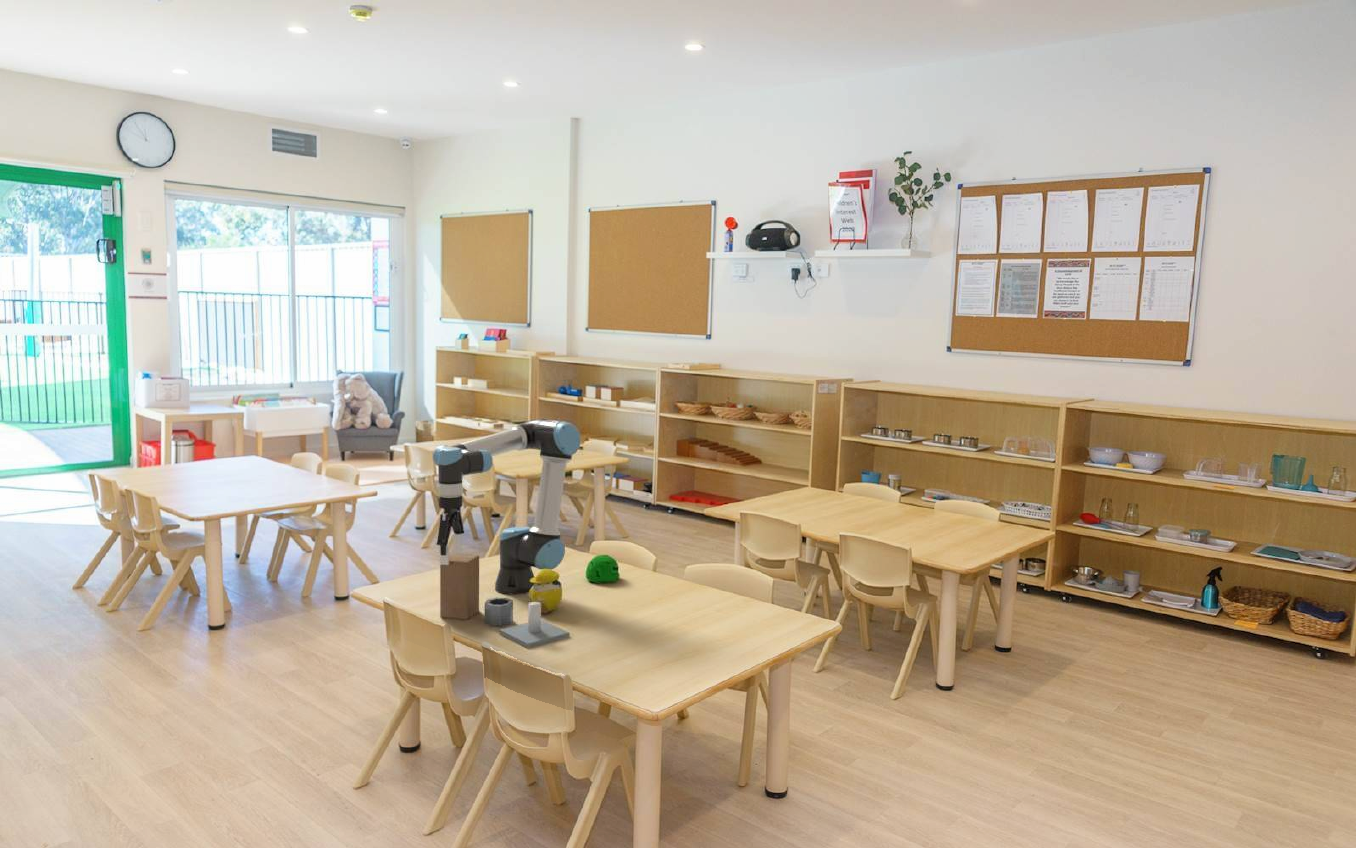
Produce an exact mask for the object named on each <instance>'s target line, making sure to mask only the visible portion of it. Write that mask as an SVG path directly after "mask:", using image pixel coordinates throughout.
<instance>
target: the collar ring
mask: <svg viewBox="0 0 1356 848" xmlns="http://www.w3.org/2000/svg"><path fill="white" fill-rule="evenodd" d="M483 617H484V619H483V620H484V625H487V626H489V627H500V628H501V627H505V626H510V625H512V623H513V621H514V600H512V599H510V598H508V597H492V598H489V599H486V600H485V602H484V616H483Z"/></svg>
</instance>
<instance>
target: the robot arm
mask: <svg viewBox="0 0 1356 848" xmlns="http://www.w3.org/2000/svg"><path fill="white" fill-rule="evenodd" d="M581 442H582V438H581V434H580V431H579V430H578V427H577V426H576V425H575V424H573V423H571V422H567V421H564V420H562V421H561V420H553V419H547V418H538V419H532V420H528V421H525V422H522V423H517V424H514V425H512V426H511V427H510V428H509V429H507V430H503V431H500V432H497V433H493V434H489V435H486V436H482V437H479V438H475V439H472V440H468V441H465V442H461V443H457V444H453V445H450V446H449V445H445V444H444V445H439V446H437V447H436V448H435V449H434V450H433V453H432V461H433V463H434V465H436V466H437V468H438V469H437V470H438V484H437V485H436V487H437V488H438V495H439V496H438V507H439V508H440V509H443V513H440V515H439V516H440V517H439V528H438V535H437V541H436V546H439V565H449V555H450V549H449V548H450V544H449V540H450V539H449V538H450V534H451V531H452V532H453V533H452V553H458V554H463V553H462V535H463V534H465V530H464V529H465V528H464V522H463V518H462V511H461V510H462V509H461V508H462V506H463V496H462V495H463V476H469V475H475V474H482V473H486V472H489V471H490V470H491V469H492V467H493V464H494V463H493V460H494V459H493V457H494V456H498V455H501V454H504V453H508V452H511V451H514V450H516V451H524V450H536V451H537V450H538V451H539V457H540V458H541V460H542V467H541V475H540V481H539V489H538V494H537V495H538V496H537V502H536V510H535V515H534V523H533V525H532V527H531V526H515V527H509V528H505V529H503V530H501V532H500V536H499V537H500V539H499V571H498V573H497V577H496V579H495V583H494V590H495V591H496V592H498V593H502V594H506V595H507V594H508V595H519V594H520V595H521V594H526V593H528V594H529V591H530V589H531V588H532V586H533V585H534V584H535V583H532V582H530V580H531V578H534V577H535V575H534V574H535V573H534V572H533V569H532V567H533V568H536V569H538V570H542V569H551V570H554V569H556V568H557V567H558V566H559V565H560V564H561V563H562V561H563V560H564V557H565V555H566V554H565V553H566V547H565V545H564V542H563V541H562V540H561V536H562V535H561V534H562V533H561V532H560V531H559V529H558V526H559V519H560V512H561V504H562V498H563V491H564V483H565V477H566V471H567V470H566V469H567V464H568V463H570V461H572V460H573V459H572V458H573V457H572V456H573V455H575V454H576V453H578V450H580V447H581Z"/></svg>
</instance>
